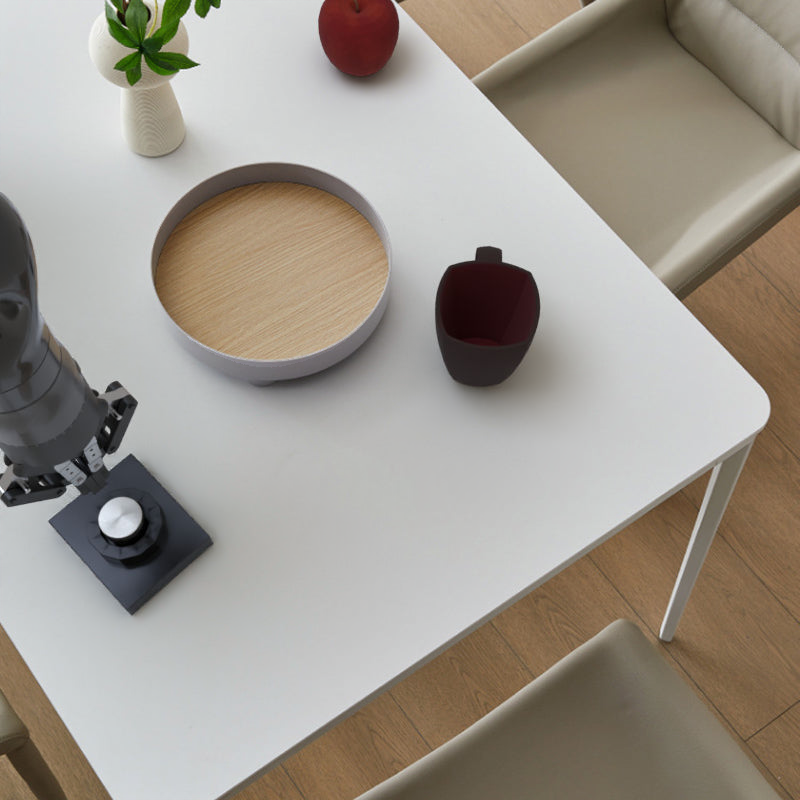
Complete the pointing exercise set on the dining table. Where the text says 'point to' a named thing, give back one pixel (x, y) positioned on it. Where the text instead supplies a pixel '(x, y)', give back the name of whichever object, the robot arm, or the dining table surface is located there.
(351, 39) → the apple
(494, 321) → the cup
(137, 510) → the button
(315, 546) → the dining table surface
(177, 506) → the control block
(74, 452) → the robot arm
